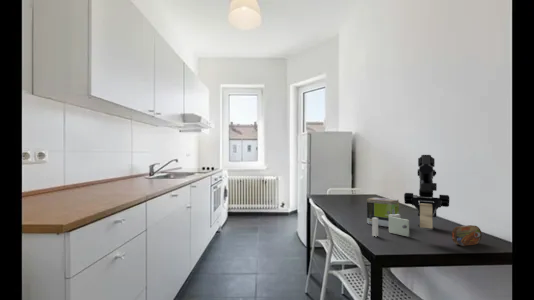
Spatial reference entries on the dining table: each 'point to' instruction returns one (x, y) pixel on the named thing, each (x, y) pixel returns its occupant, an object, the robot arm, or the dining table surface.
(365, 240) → the dining table surface
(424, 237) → the dining table surface
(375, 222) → the door frame
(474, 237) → the tin
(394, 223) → the door leaf
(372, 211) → the tea box
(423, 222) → the block
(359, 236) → the dining table surface
